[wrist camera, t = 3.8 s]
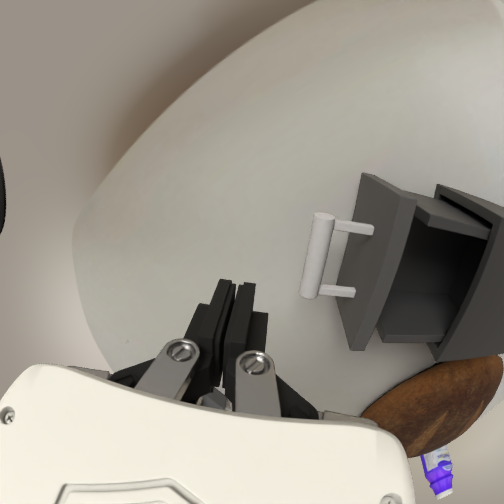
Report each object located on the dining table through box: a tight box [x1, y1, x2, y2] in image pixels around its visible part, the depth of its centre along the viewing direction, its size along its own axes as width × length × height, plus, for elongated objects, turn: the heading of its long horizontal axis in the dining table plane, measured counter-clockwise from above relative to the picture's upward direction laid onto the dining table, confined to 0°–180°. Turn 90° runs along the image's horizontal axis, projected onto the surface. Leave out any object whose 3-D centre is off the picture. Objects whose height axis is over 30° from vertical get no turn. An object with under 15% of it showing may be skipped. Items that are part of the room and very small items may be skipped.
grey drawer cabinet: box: [427, 184, 504, 362], centre depth 19 cm, size 15×13×10 cm
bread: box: [361, 355, 504, 458], centre depth 30 cm, size 28×27×9 cm
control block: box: [200, 387, 227, 410], centre depth 33 cm, size 10×8×4 cm
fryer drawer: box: [299, 173, 493, 351], centre depth 19 cm, size 18×11×8 cm, turn 85°
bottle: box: [420, 445, 453, 500], centre depth 34 cm, size 7×6×17 cm
